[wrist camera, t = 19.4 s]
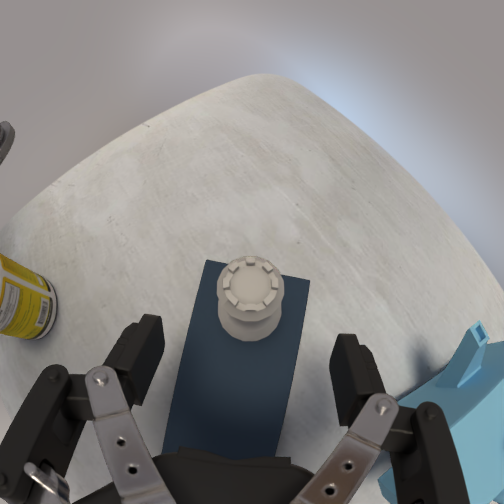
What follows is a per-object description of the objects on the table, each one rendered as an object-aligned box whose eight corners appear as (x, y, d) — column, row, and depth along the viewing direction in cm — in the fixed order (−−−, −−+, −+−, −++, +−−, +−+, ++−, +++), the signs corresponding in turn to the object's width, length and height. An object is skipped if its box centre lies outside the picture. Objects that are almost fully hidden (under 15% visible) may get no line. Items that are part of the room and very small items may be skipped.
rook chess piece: (240, 354, 19) (236, 352, 12) (206, 302, 21) (183, 269, 13) (292, 318, 20) (319, 295, 13) (257, 269, 22) (263, 220, 14)
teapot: (464, 302, 21) (551, 262, 11) (498, 445, 15) (572, 452, 5) (324, 383, 19) (397, 401, 9) (378, 535, 13) (435, 592, 3)
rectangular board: (261, 498, 16) (261, 502, 15) (159, 475, 16) (157, 478, 15) (308, 282, 22) (310, 280, 21) (207, 262, 23) (206, 259, 22)
